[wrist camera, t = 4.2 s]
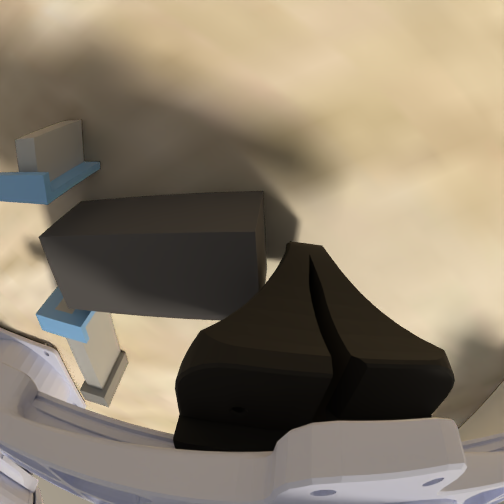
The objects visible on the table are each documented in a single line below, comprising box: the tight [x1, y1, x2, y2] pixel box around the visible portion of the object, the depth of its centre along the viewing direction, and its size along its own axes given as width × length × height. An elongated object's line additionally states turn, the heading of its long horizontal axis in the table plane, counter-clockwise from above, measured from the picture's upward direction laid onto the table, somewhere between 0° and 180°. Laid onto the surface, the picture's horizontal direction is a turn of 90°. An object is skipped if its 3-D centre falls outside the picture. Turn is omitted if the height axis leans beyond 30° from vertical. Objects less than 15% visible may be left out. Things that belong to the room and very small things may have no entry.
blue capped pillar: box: [0, 120, 128, 407], centre depth 11 cm, size 3×22×4 cm, turn 175°
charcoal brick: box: [39, 191, 267, 320], centre depth 12 cm, size 8×3×3 cm, turn 93°
